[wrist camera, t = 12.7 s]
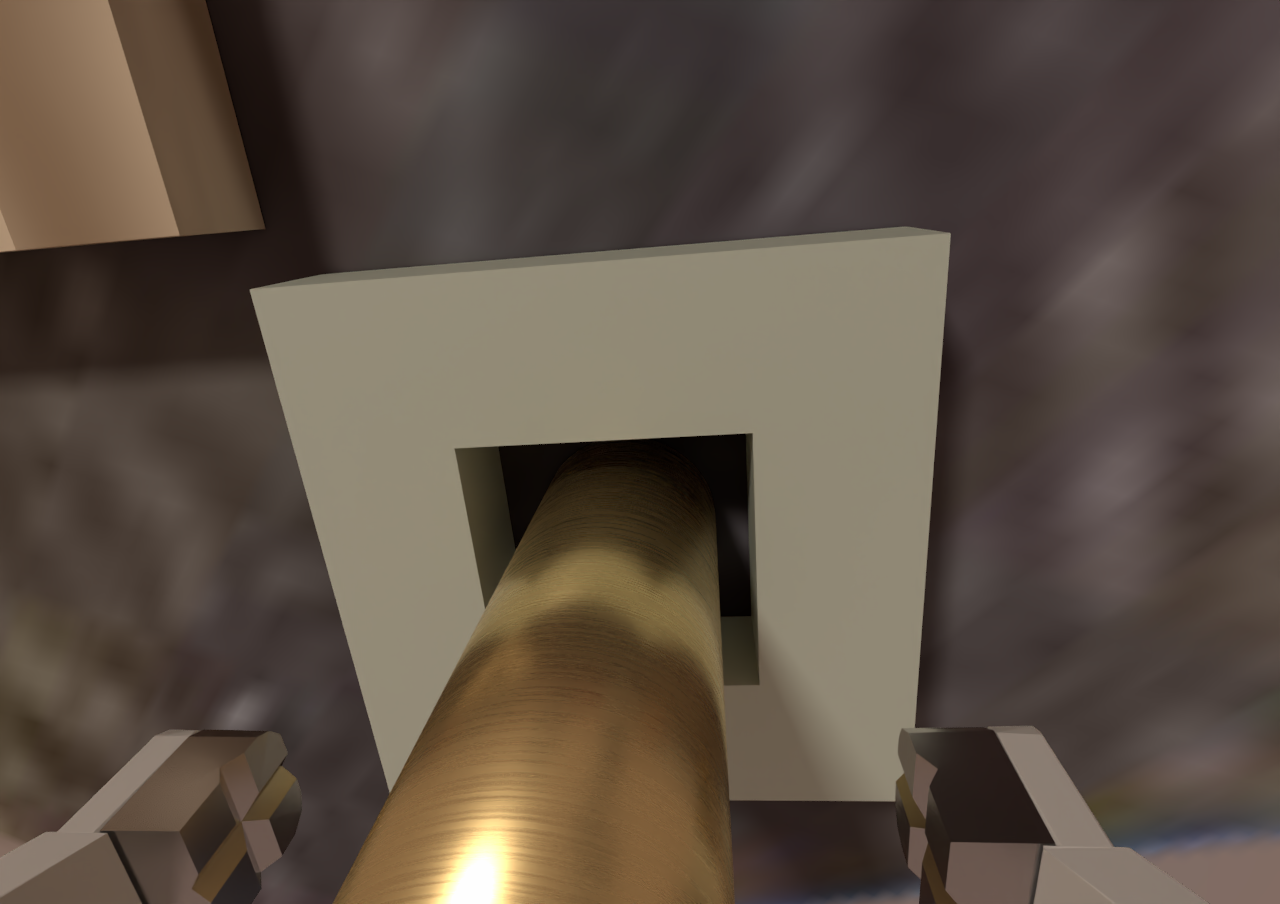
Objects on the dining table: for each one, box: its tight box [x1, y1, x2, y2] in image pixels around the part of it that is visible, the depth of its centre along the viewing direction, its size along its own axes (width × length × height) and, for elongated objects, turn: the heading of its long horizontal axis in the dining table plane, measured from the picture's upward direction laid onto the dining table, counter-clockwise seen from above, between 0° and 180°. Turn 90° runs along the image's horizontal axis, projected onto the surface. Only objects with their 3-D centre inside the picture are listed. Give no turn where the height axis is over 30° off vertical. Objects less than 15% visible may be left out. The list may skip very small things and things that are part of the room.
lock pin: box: [333, 439, 735, 904], centre depth 10 cm, size 4×4×12 cm
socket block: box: [249, 227, 951, 801], centre depth 15 cm, size 12×12×2 cm
